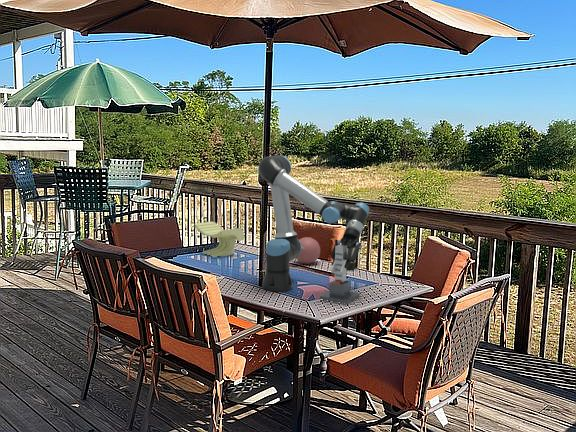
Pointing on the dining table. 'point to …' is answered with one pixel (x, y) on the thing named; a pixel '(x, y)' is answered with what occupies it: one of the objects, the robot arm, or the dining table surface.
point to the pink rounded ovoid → (308, 250)
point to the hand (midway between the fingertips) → (336, 272)
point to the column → (340, 262)
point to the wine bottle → (351, 265)
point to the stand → (340, 293)
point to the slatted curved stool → (220, 238)
